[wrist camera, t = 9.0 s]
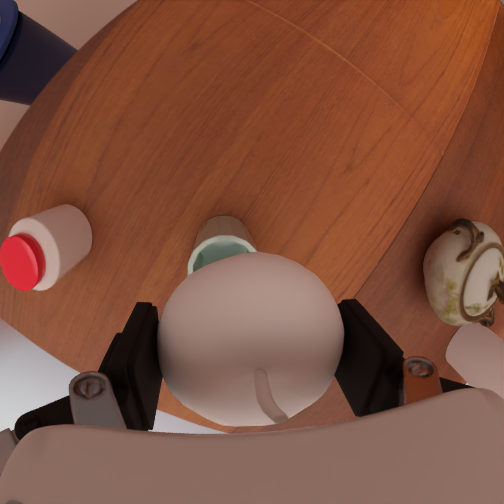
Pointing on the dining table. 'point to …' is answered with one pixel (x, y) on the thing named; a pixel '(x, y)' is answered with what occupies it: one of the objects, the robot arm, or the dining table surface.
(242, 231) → the cup
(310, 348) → the apple
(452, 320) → the sugar bowl
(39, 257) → the pill bottle
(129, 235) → the dining table surface
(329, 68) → the dining table surface
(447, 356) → the tall pillar cylinder
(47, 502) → the robot arm
